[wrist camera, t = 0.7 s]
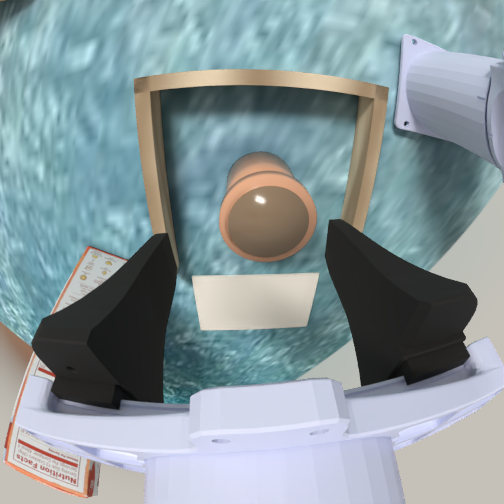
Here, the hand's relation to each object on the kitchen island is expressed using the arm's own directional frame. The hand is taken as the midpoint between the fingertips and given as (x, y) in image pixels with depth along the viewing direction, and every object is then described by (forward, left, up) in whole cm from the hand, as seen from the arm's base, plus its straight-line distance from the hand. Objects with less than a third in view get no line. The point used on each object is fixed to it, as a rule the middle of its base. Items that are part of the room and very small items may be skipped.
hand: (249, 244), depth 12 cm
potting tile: (-1, +14, -9) cm, 17 cm away
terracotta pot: (-1, +1, -10) cm, 10 cm away
